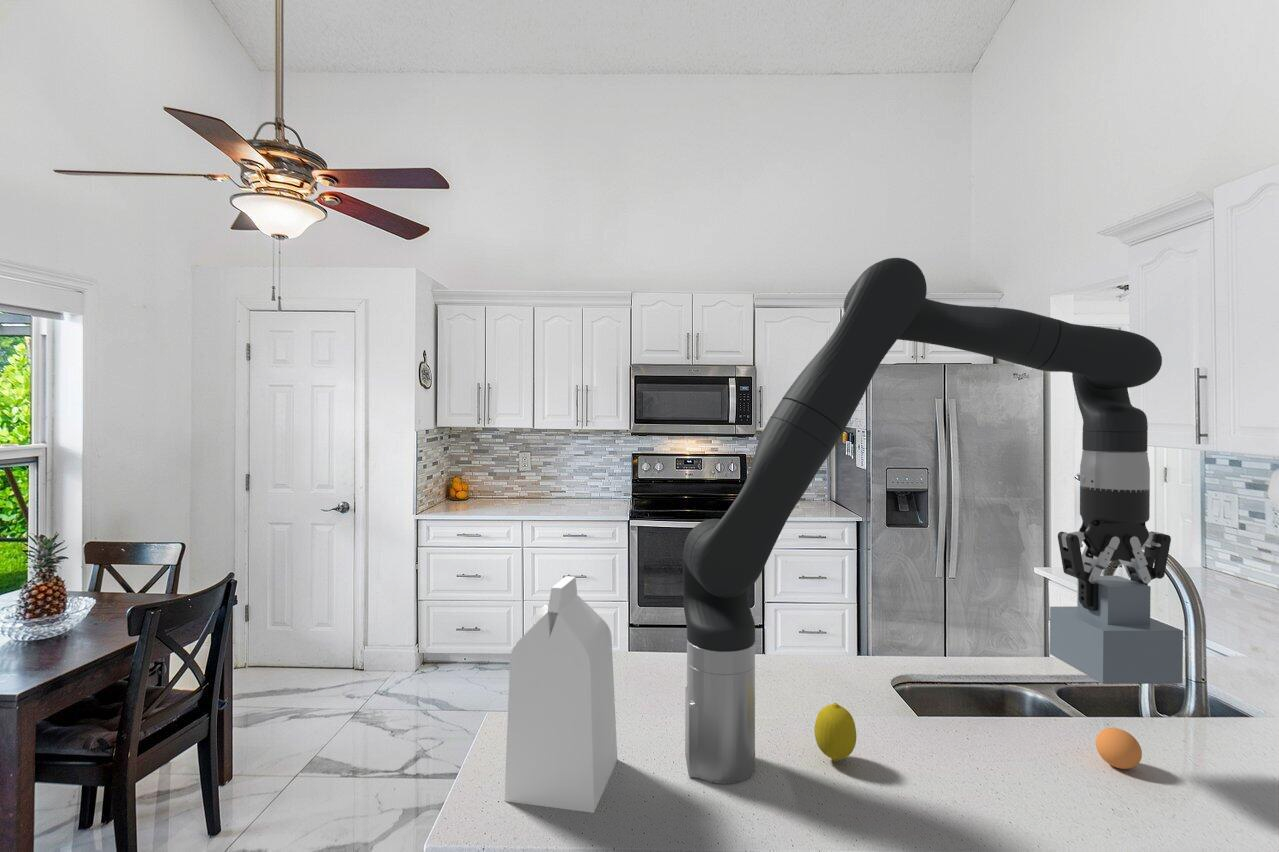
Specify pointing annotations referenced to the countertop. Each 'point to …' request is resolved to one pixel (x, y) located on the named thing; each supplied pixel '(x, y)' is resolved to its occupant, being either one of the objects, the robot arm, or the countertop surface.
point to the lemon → (835, 732)
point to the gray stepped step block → (1118, 637)
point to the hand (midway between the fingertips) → (1113, 608)
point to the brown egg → (1118, 748)
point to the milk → (561, 707)
